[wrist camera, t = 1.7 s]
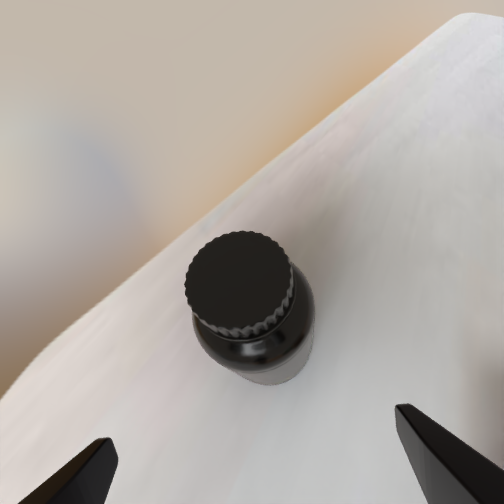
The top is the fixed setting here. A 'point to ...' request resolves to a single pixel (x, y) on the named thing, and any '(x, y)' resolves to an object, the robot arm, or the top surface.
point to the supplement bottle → (251, 307)
